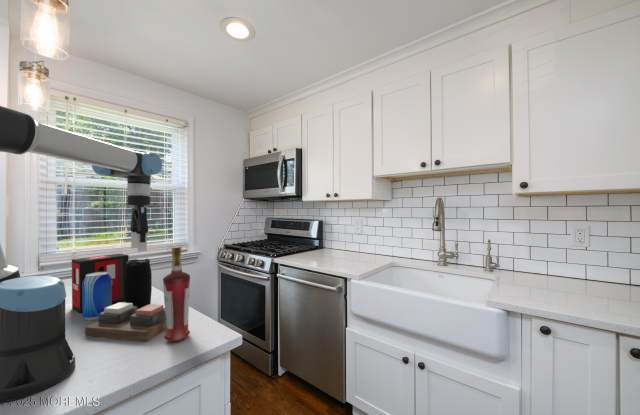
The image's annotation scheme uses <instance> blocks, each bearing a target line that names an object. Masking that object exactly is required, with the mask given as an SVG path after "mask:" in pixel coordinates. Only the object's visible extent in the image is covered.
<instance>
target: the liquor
mask: <svg viewBox="0 0 640 415" xmlns="http://www.w3.org/2000/svg"><path fill="white" fill-rule="evenodd" d="M171 256H172V259H171V272H170V273H168V274H167V275H166V276H164V277H163V279H162V284H163V298H164V300H163V302H164V308H165V316H166V330H165V333H166V334H165V335H164V339H165V340H166V341H168V342H169V343H179V342H182V341H184V340H186V338H187V337H188V336H189V335H190V329H189V311H190V308H189V307H190V292H191V291H190V289H191V275H190V274H189V273H187V272H184V271H183V265H182V259H181V258H182V257H181V256H182V246H173V247H171Z"/></svg>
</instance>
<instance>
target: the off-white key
mask: <svg viewBox="0 0 640 415" xmlns="http://www.w3.org/2000/svg"><path fill="white" fill-rule="evenodd" d="M131 308H133V303H125V302H122V303H121V302H119V303H117V304H114V305H111V306H109V307H106V308H104V313H110V314H120V313H122V312H124V311H127V310H129V309H131Z"/></svg>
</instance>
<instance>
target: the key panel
mask: <svg viewBox="0 0 640 415" xmlns="http://www.w3.org/2000/svg"><path fill="white" fill-rule="evenodd" d="M137 309H138V306H133V308H131V309H129V310H127V311H124V312H122V313H120V314H110V313H104V312H101V313H100V314H98V316H99V319H98V321H96V322H93V323H92V324H90V325H87V326H85V327H84V336H85V337H86V338H97V339H108V340H119V341H129V342H130V341H131V342H132V341H133V342H142V343H143V342H144V343H146V342H149V341H150V340H151V339H153V338H155V337H156V336H159V335H160V334H161V333H163V332H164V331H165V332H166V316H165V307H163V310H162V311H160V312H158V313H156V314H154V315H152V316H139V315H136V310H137Z"/></svg>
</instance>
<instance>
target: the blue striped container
mask: <svg viewBox="0 0 640 415" xmlns="http://www.w3.org/2000/svg"><path fill="white" fill-rule="evenodd" d="M111 305H112V278H111V277H110V275H109V274H108V272H96V273H90V274H87V275H86V277H85V279H84V280H83V282H82V310H83V313H82V318H84V320H86V321H97V320H99V316H98V314H100V313H101V312H104V308H106V307H109V306H111Z"/></svg>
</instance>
